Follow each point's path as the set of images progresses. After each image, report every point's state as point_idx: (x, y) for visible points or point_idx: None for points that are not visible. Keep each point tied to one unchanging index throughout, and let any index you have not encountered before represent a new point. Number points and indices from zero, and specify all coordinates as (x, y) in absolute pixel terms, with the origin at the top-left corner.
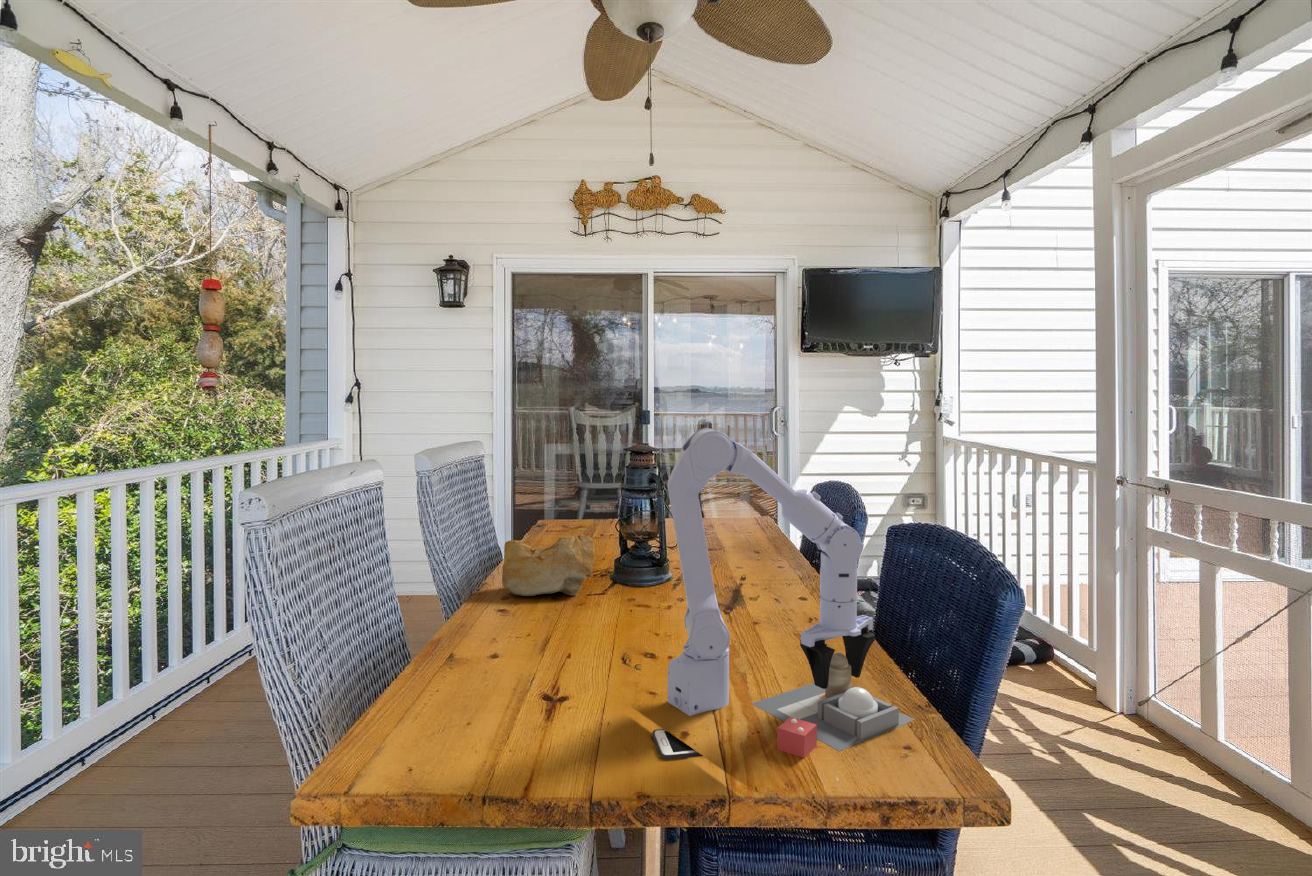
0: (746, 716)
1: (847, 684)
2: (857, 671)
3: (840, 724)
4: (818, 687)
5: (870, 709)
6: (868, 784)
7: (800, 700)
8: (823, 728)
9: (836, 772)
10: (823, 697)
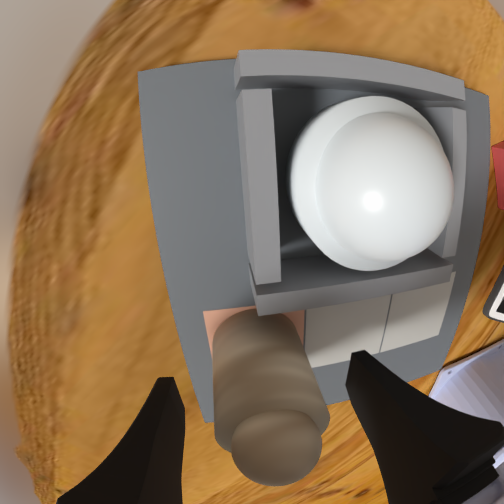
0: (457, 340)
1: (265, 350)
2: (169, 397)
3: None
4: None
5: (390, 106)
6: (477, 8)
7: None
8: None
9: (499, 73)
10: None
